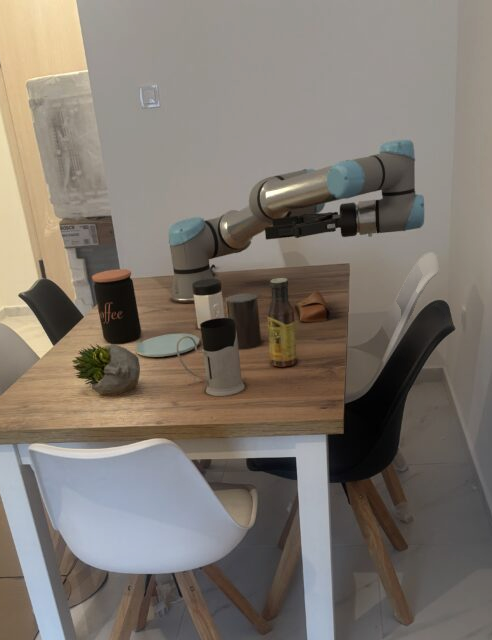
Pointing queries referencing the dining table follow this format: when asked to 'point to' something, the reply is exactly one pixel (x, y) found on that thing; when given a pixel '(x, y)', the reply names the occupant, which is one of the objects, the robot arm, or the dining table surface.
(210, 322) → the glass holder
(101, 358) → the potted plant
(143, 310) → the dining table surface
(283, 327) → the sauce bottle
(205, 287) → the jar
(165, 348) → the saucer
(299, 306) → the sunglasses case
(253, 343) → the dark glossy canister
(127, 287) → the coffee jar
